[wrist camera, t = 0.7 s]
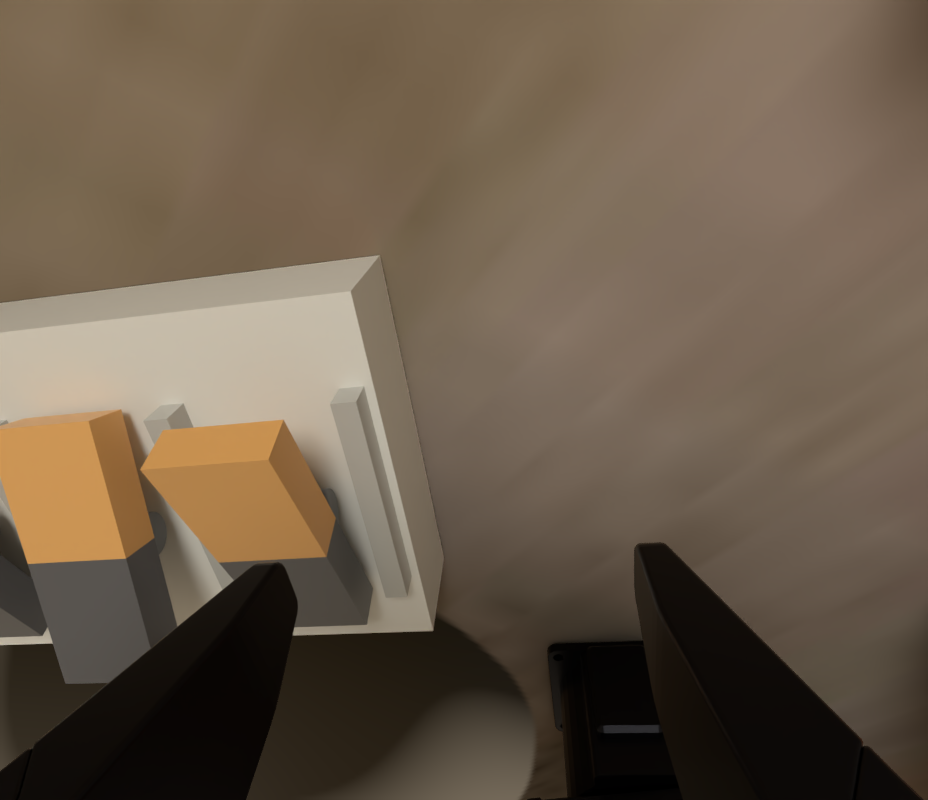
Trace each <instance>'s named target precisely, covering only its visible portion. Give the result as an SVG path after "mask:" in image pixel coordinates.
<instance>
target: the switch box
mask: <svg viewBox="0 0 928 800" xmlns="http://www.w3.org/2000/svg"><path fill="white" fill-rule="evenodd" d="M118 409H121V410H122V414H123V418H124V422H125V426H126V430H127V434H128V437H129V441H130V445H131V449H132V453H133V457H134V461H135V464H136V468H137V472H138V476H139V480H140V484H141V488H142V491H143V495H144V499H145V503H146V507H147V511H148V512H157V513H159V514H160V515H161V516H162V517H163V519H164V521H165V523H166V527H167V538H166V543H165V546H164V548H163V550H162V552H161V553H160V554H159V557H160V561H161V565H162V569H163V573H164V576H165V580H166V584H167V588H168V592H169V596H170V600H171V603H172V607H173V611H174V615H175V619H176V623H177V626H179V625H180V624H181V623H182V622H184V621H185V620H186V619H187V618H188V617H190V616H191V615H192V614H193V613H195V612H196V611H197V610H198V609H199V608H201V607H202V606H203V605H204V604H206V603H207V602H208V601H209V600H210V599H212V598H213V597H214V596H215V595H217V594H218V593H219V592H220V591H221V590H223V589H224V588H225V587H226V586H228V585H229V584H230V583H231V582H232V581H234V580H233V579H232V578H231V577H230V575H229V574H228V573H227V572H226V571H225V569H224V568H223V567H222V566H221V565H220V564H219V562H218V561H217V560H216V559H215V558H214V556H213V555H212V554H211V553H210V552H209V551H208V549H207V548H206V547H205V546H204V545H203V544H202V542H201V541H200V540H199V539H198V538H197V536H196V535H195V534H194V533H193V532H192V531H191V529H190V528H189V527H188V526H187V525H186V523H185V522H184V521H183V520H182V519H181V518H180V516H179V515H178V514H177V513H176V512H175V511H174V509H173V508H172V507H171V506H170V505H169V503H168V502H167V501H166V500H165V499H164V498H163V496H162V495H161V494H160V493H159V492H158V490H157V489H156V488H155V487H154V486H153V485H152V483H151V482H150V481H149V480H148V479H147V478H146V476H145V475H144V474H143V473H142V472H141V470H140V469H141V467H142V466H143V464H144V462H145V460H146V459H147V457H148V455H149V453H150V452H151V450H152V448H153V447H154V445H155V443H156V441H157V440H158V438H159V436H160V435H161V433H162V431H163V430H171V429H182V428H194V427H205V426H217V425H228V424H240V423H251V422H262V421H274V420H284V422H285V423H286V425H287V427H288V429H289V431H290V433H291V435H292V437H293V438H294V440H295V442H296V444H297V446H298V448H299V450H300V452H301V453H302V455H303V457H304V459H305V461H306V463H307V465H308V467H309V468H310V470H311V472H312V474H313V476H314V478H315V480H316V482H317V484H318V485H319V487H320V489H325V488H330V489H332V490H333V491H334V493H335V495H336V498H337V502H338V508H339V520H338V523H339V525H340V527H341V529H342V531H343V532H344V534H345V536H346V538H347V540H348V542H349V544H350V546H351V547H352V549H353V551H354V553H355V555H356V557H357V559H358V561H359V562H360V564H361V566H362V568H363V570H364V572H365V574H366V576H367V577H368V579H369V581H370V583H371V585H372V587H373V592H372V598H371V604H370V610H369V616H368V622H367V625H348V626H319V627H294V631H293V635H321V634H322V635H323V634H352V633H384V632H412V631H413V632H415V631H433V629H434V621H435V615H436V609H437V602H438V596H439V589H440V582H441V576H442V569H443V563H444V555H443V550H442V546H441V541H440V536H439V532H438V527H437V522H436V517H435V513H434V508H433V503H432V498H431V494H430V489H429V484H428V480H427V475H426V470H425V465H424V461H423V456H422V451H421V447H420V442H419V437H418V432H417V428H416V423H415V418H414V413H413V409H412V404H411V399H410V395H409V390H408V385H407V380H406V376H405V371H404V366H403V361H402V357H401V352H400V347H399V343H398V338H397V333H396V328H395V324H394V319H393V314H392V310H391V305H390V300H389V295H388V291H387V286H386V281H385V276H384V272H383V267H382V262H381V258H380V255H378V256H370V257H362V258H354V259H346V260H338V261H330V262H322V263H314V264H306V265H298V266H290V267H282V268H275V269H267V270H259V271H251V272H243V273H235V274H227V275H219V276H211V277H203V278H195V279H187V280H179V281H172V282H164V283H156V284H148V285H140V286H132V287H124V288H116V289H108V290H100V291H92V292H84V293H77V294H69V295H61V296H53V297H45V298H37V299H29V300H21V301H13V302H5V303H0V426H1V425H5V424H8V423H11V422H14V421H18V420H21V419H24V418H33V417H43V416H54V415H65V414H75V413H86V412H97V411H107V410H118ZM0 555H2V556H3V557H4V558H6V559H7V560H8V561H10V562H11V563H12V564H13V565H15V566H16V567H17V568H19V569H20V570H21V571H23V572H24V573H25V574H27V575H28V576H29V577H31V578H32V576H31V573H30V570H29V566H28V563H27V560H26V557H25V554H24V551H23V548H22V544H21V541H20V538H19V535H18V532H17V529H16V525H15V522H14V519H13V516H12V513H11V510H10V506H9V503H8V500H7V497H6V494H5V491H4V488H3V484H2V481H1V478H0ZM44 643H45V644H46V643H53V642H52V639H51V636H50V633H49V630H48V627H47V629H46V631H45V633H44V634H43V636H29V637H1V638H0V645H15V644H44Z"/></svg>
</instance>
